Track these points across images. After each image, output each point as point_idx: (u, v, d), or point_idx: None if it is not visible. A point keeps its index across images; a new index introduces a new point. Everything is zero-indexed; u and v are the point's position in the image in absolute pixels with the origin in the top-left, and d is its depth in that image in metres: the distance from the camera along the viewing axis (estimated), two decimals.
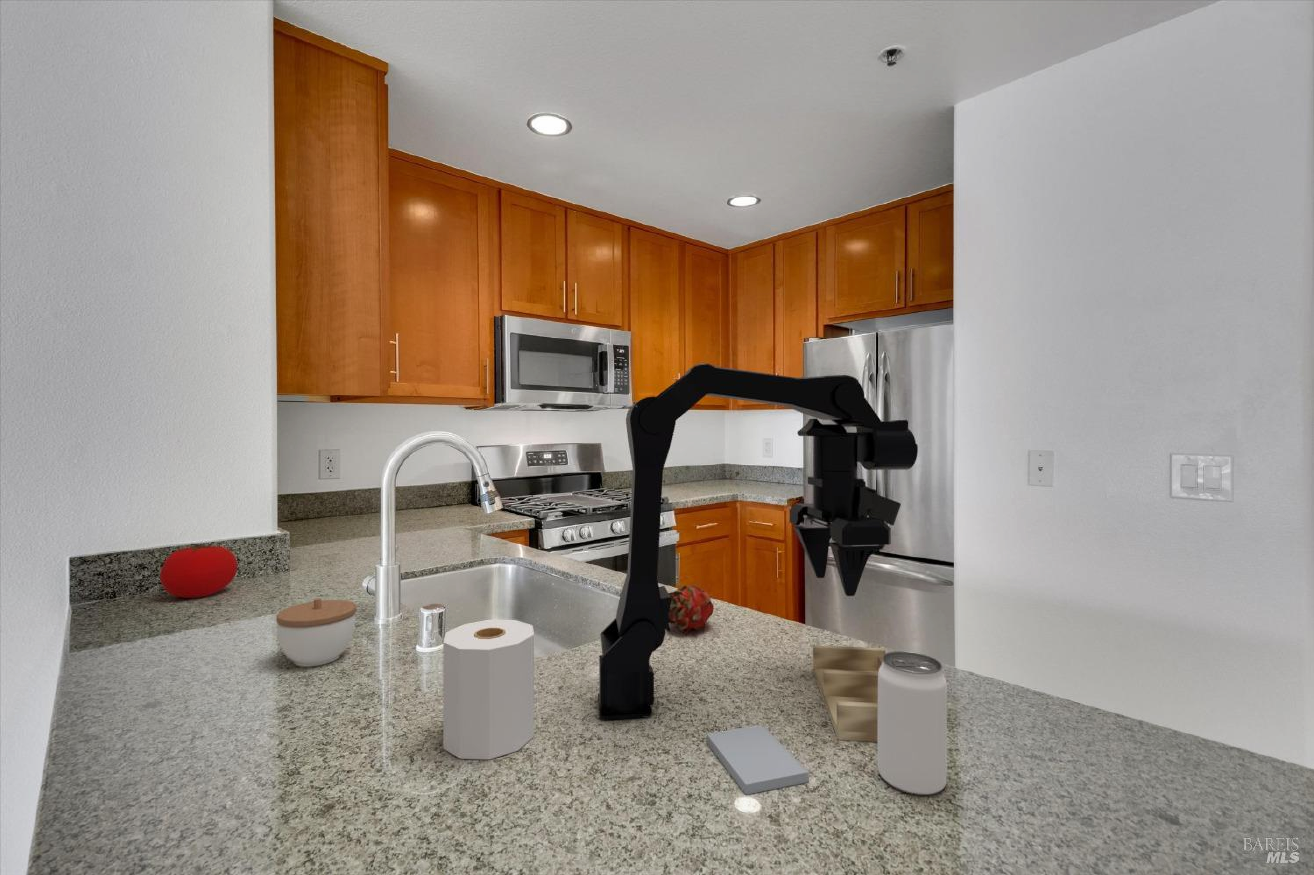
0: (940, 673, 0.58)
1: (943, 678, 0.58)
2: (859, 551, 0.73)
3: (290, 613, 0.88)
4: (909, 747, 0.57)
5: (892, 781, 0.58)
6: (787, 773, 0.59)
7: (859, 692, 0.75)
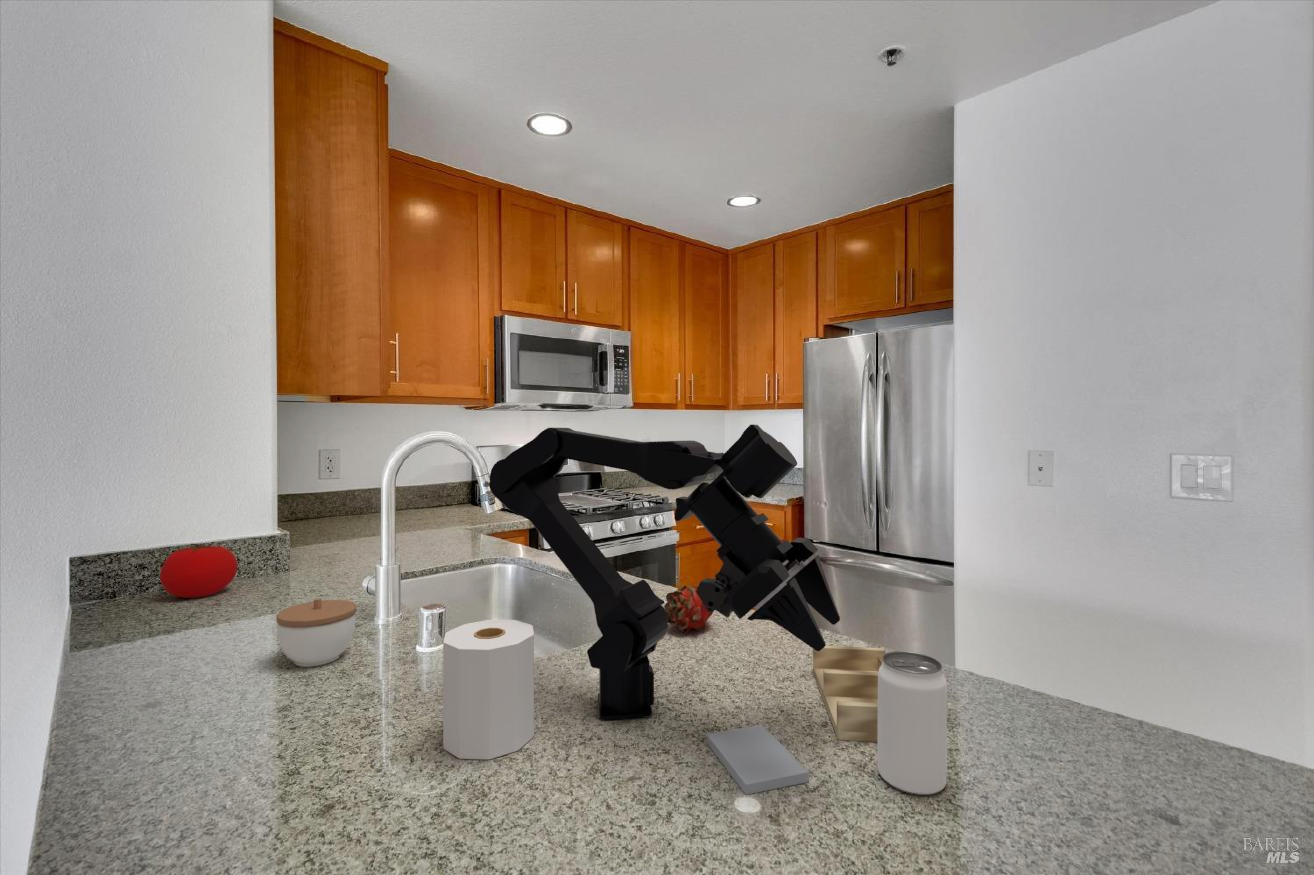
0: (940, 673, 0.58)
1: (943, 678, 0.58)
2: None
3: (290, 613, 0.88)
4: (909, 747, 0.57)
5: (892, 781, 0.58)
6: (787, 773, 0.59)
7: (859, 692, 0.75)
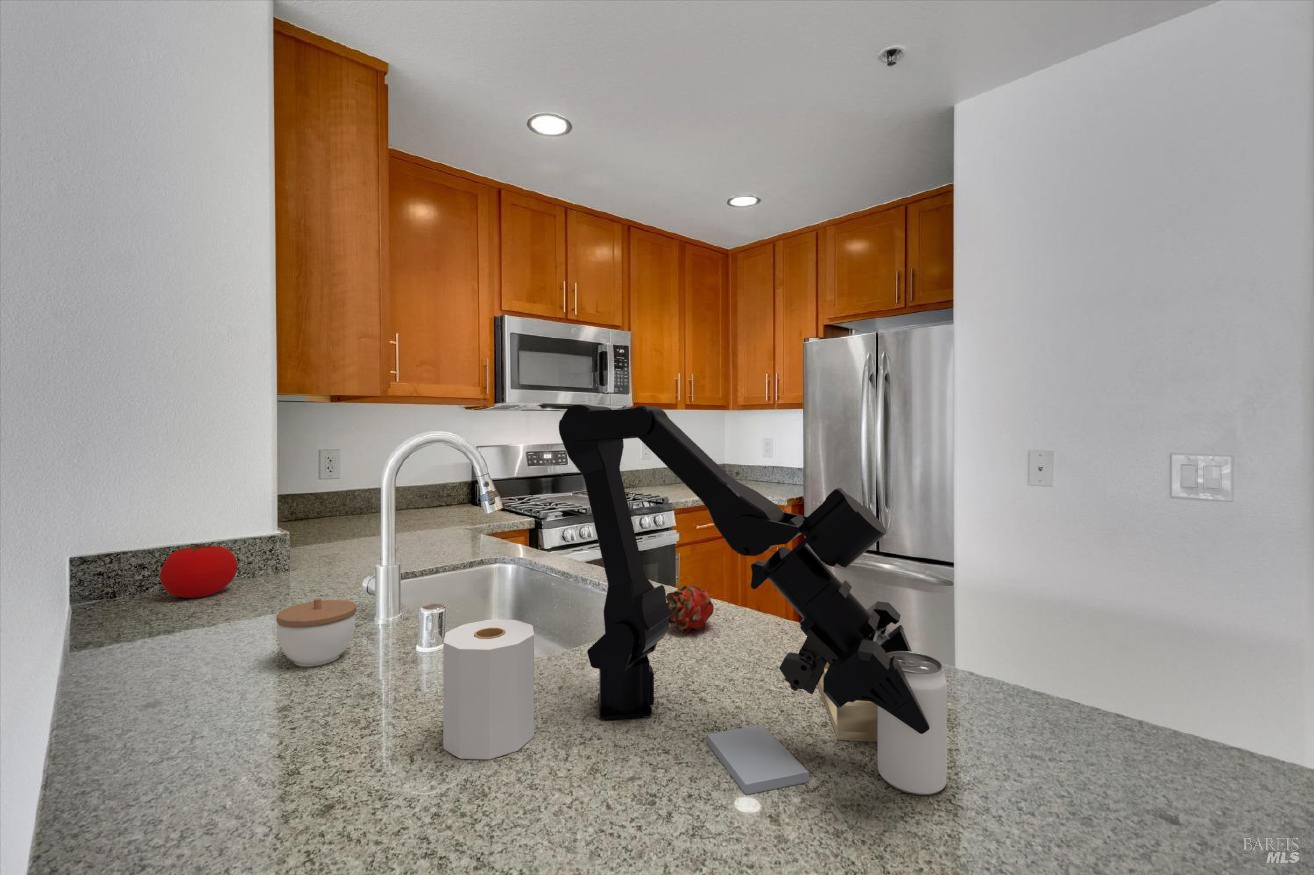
0: (940, 673, 0.58)
1: (943, 678, 0.58)
2: None
3: (290, 613, 0.88)
4: (909, 747, 0.57)
5: (892, 781, 0.58)
6: (787, 773, 0.59)
7: None
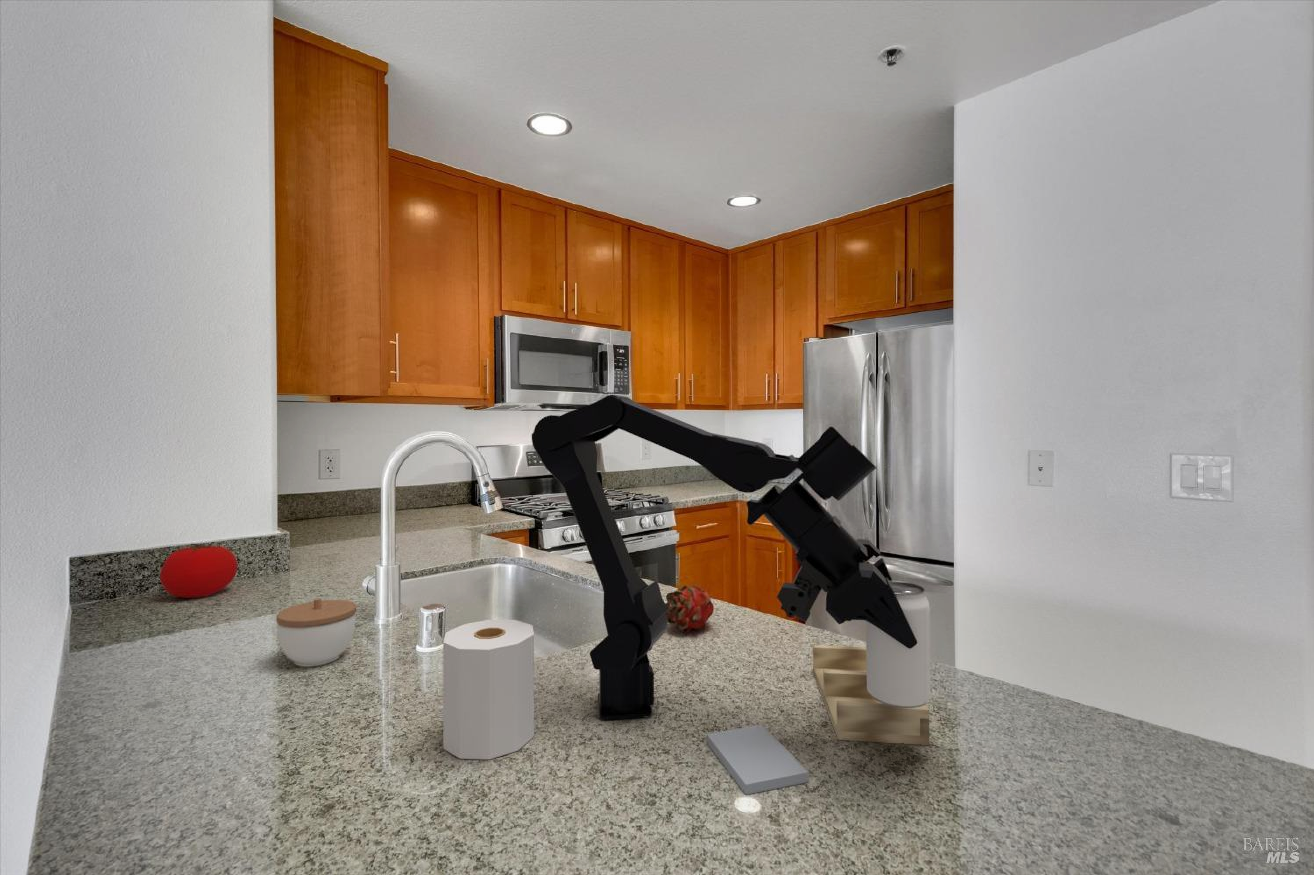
0: (924, 595, 0.63)
1: (926, 599, 0.63)
2: None
3: (290, 613, 0.88)
4: (900, 664, 0.61)
5: (883, 698, 0.62)
6: (787, 773, 0.59)
7: (859, 692, 0.75)
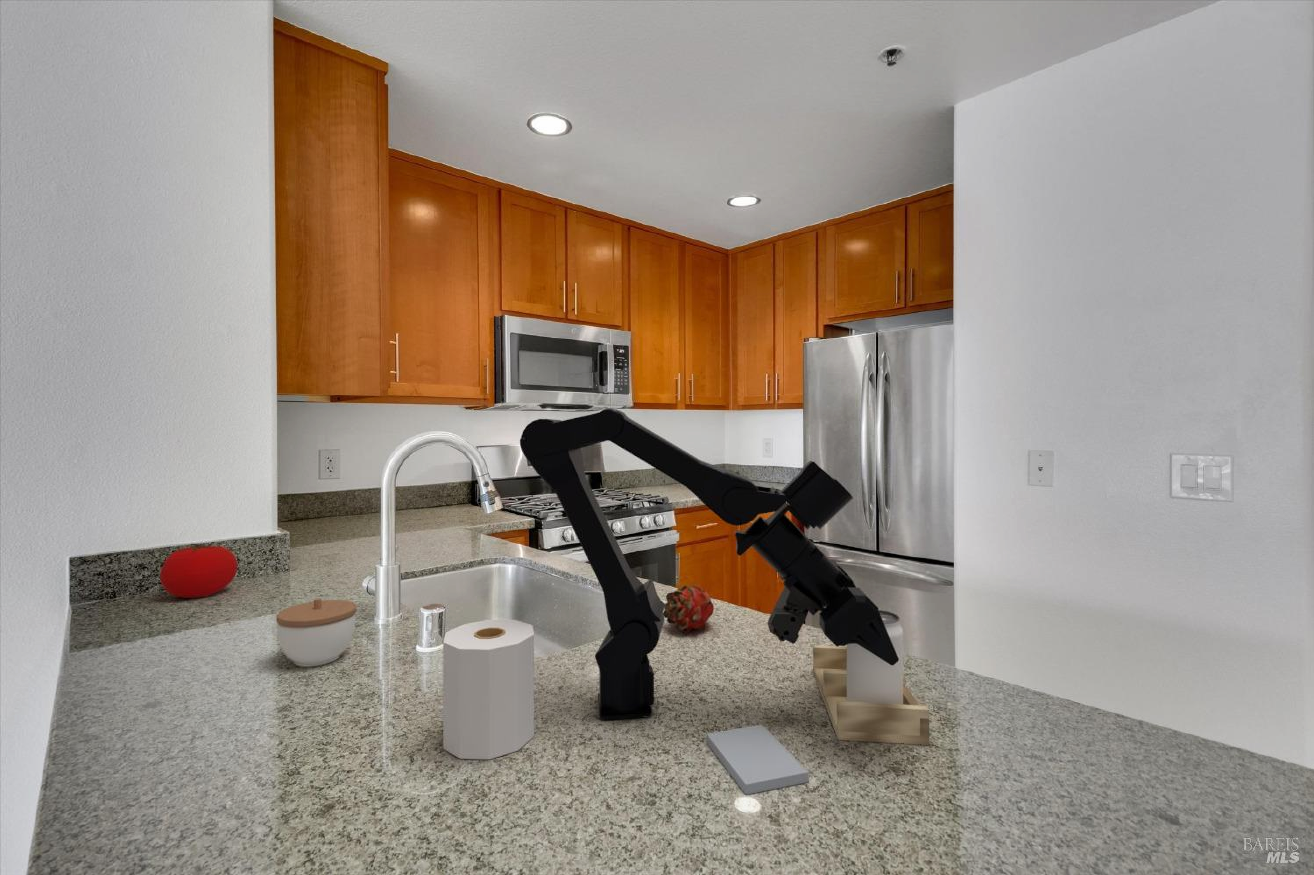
0: None
1: (900, 625, 0.70)
2: None
3: (290, 613, 0.88)
4: (882, 686, 0.68)
5: None
6: (787, 773, 0.59)
7: None
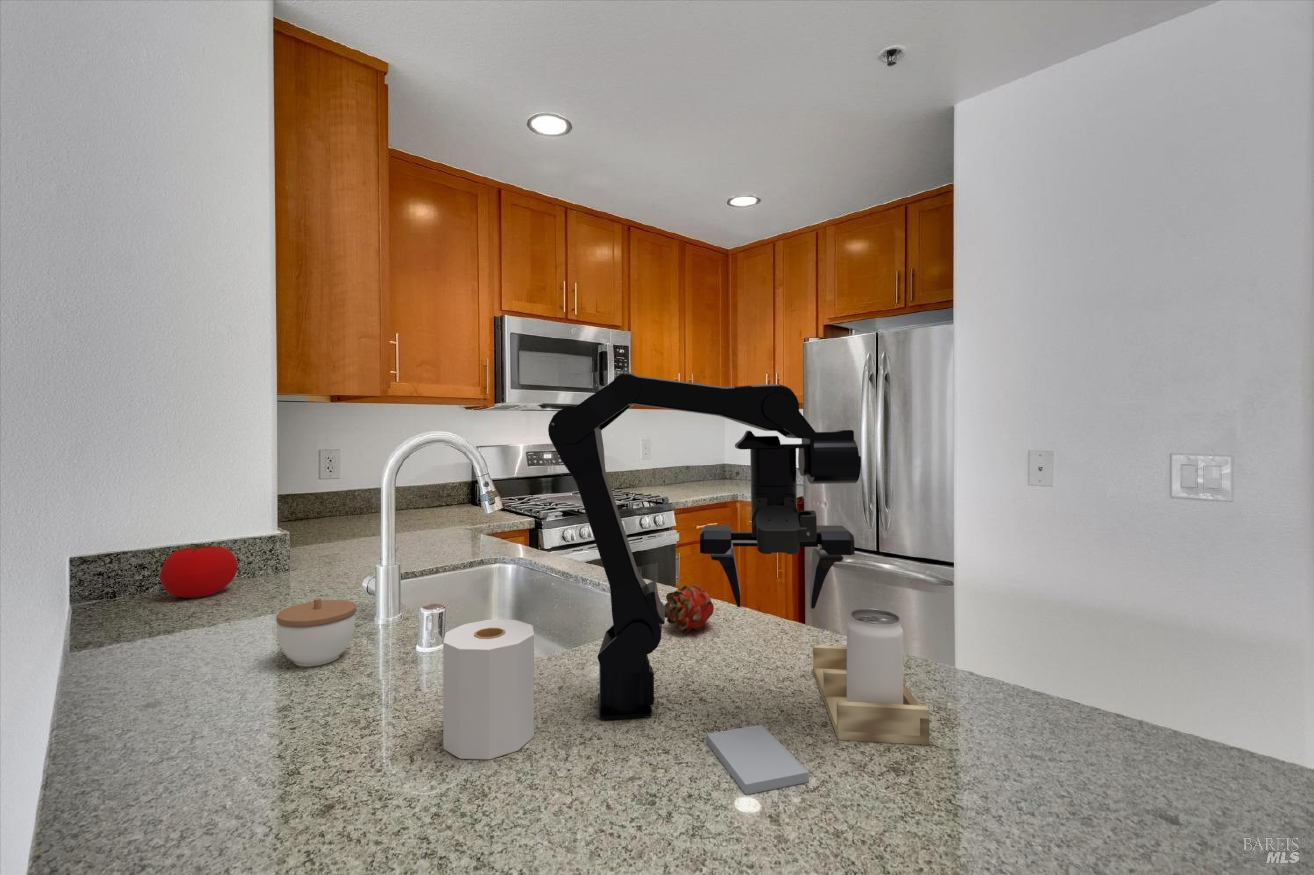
0: None
1: (900, 626, 0.70)
2: None
3: (290, 613, 0.88)
4: (882, 686, 0.68)
5: None
6: (787, 773, 0.59)
7: None
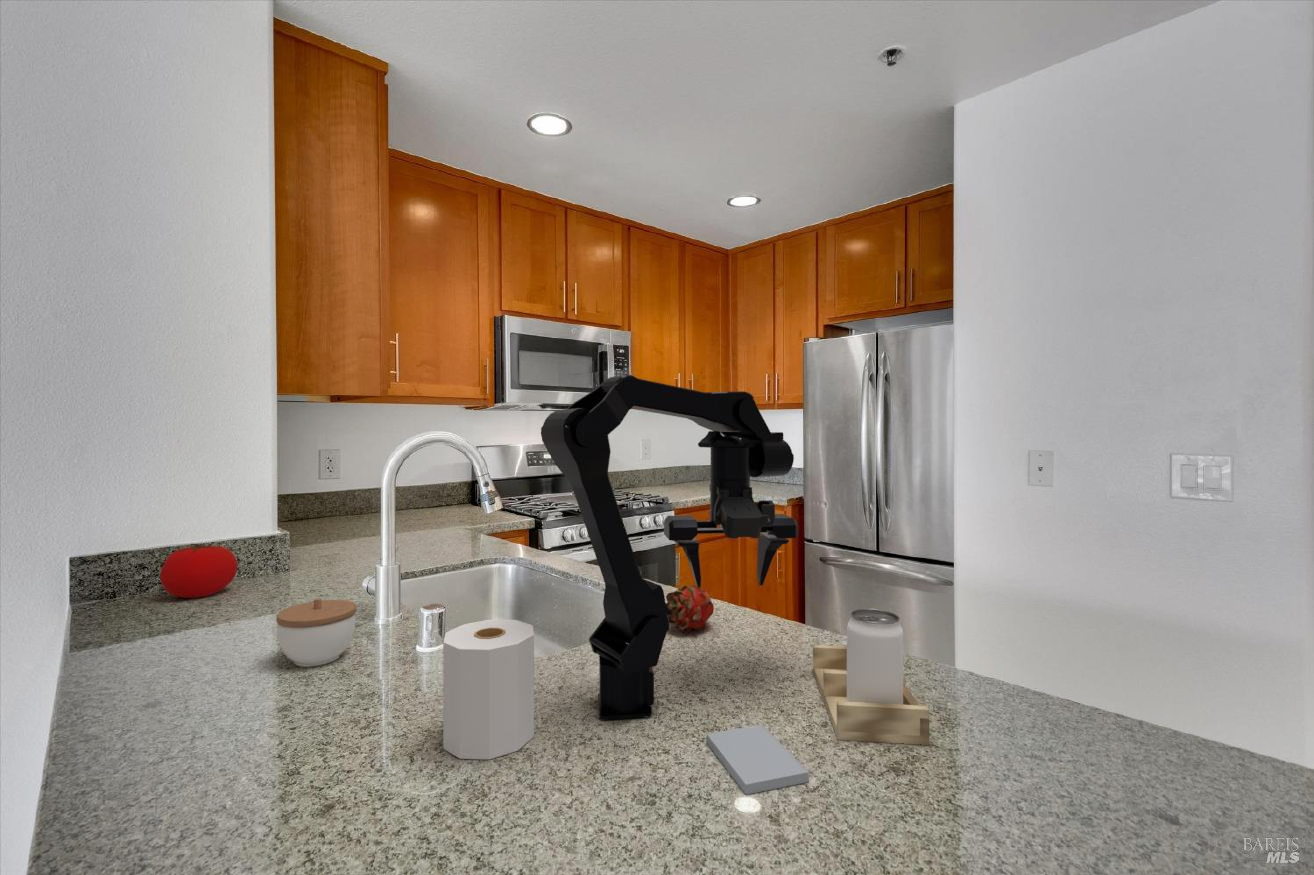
0: None
1: (900, 626, 0.70)
2: None
3: (290, 613, 0.88)
4: (882, 686, 0.68)
5: None
6: (787, 773, 0.59)
7: None
